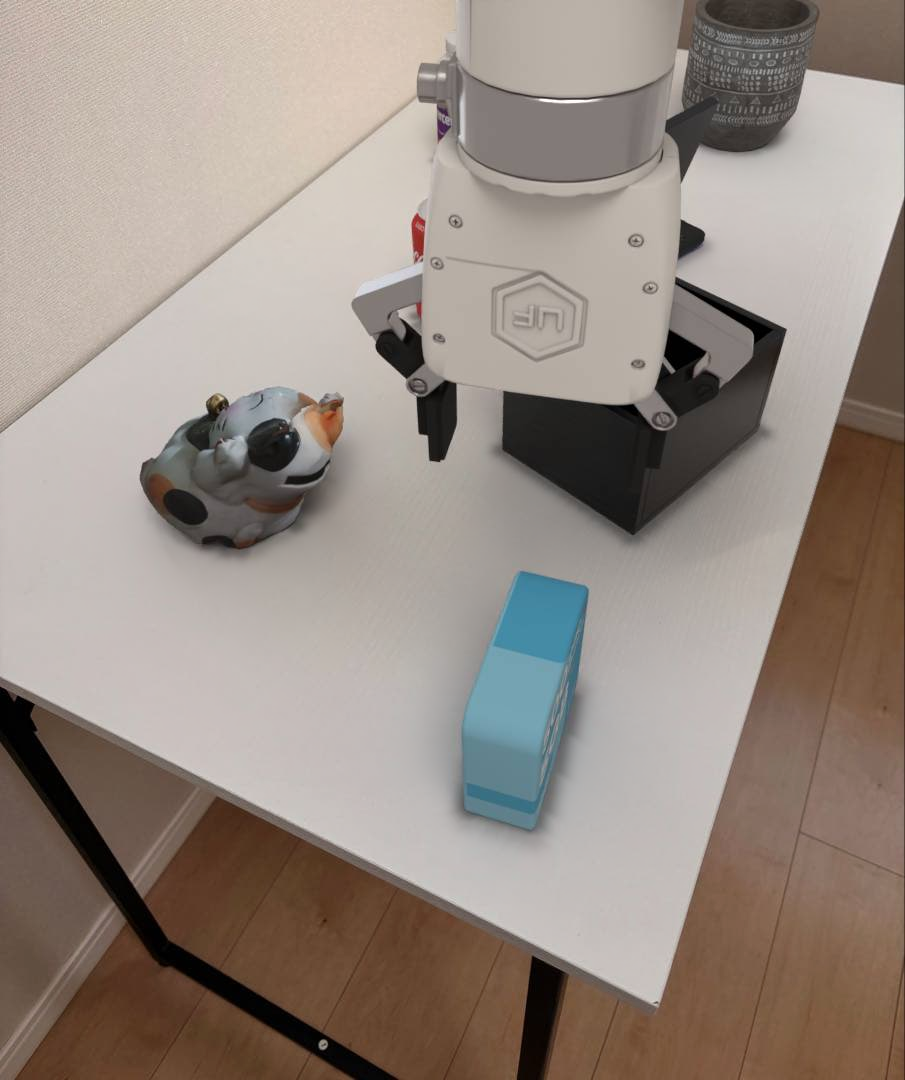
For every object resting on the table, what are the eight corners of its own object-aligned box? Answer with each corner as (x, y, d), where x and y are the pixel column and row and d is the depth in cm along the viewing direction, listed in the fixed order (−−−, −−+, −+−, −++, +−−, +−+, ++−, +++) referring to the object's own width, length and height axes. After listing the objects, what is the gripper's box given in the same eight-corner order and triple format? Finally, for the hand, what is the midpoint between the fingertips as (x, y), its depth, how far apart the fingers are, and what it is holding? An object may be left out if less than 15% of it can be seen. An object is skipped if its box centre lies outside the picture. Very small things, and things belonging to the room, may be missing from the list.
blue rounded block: (532, 840, 58) (540, 742, 50) (463, 819, 60) (459, 719, 51) (577, 684, 66) (591, 575, 57) (515, 668, 67) (520, 558, 58)
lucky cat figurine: (252, 420, 86) (305, 310, 76) (334, 518, 84) (399, 418, 74) (109, 473, 75) (150, 353, 66) (199, 587, 73) (255, 481, 63)
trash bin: (758, 430, 83) (787, 328, 75) (633, 535, 75) (651, 434, 67) (628, 360, 90) (642, 260, 82) (501, 449, 82) (503, 348, 74)
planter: (654, 124, 124) (671, -1, 112) (744, 101, 127) (768, -21, 116) (719, 170, 115) (744, 40, 104) (812, 144, 119) (846, 16, 107)
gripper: (297, 133, 33) (348, 483, 45) (813, 181, 30) (712, 541, 43) (361, 49, 38) (390, 387, 50) (810, 83, 35) (720, 433, 47)
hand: (538, 457), depth 46 cm, fingers open, 9 cm apart
